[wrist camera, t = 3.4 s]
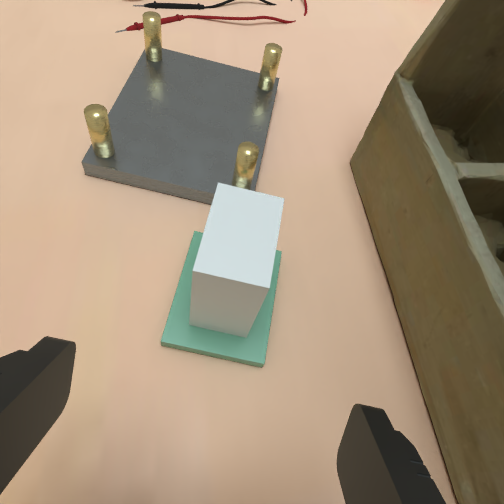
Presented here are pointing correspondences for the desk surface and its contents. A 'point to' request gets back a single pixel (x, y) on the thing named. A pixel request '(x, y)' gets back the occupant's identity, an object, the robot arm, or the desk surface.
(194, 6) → the digital clamp meter
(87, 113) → the standoff chassis
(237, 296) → the board module
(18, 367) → the robot arm
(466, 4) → the caddy
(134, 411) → the desk surface
